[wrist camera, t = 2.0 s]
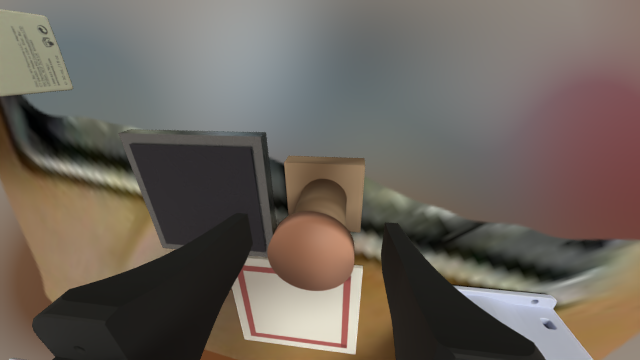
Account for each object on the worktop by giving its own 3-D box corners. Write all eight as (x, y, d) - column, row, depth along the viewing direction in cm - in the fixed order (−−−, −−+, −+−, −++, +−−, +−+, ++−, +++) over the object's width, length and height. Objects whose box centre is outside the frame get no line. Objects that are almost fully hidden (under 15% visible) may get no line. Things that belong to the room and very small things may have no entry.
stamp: (364, 156, 16) (369, 218, 10) (359, 219, 18) (361, 303, 12) (289, 154, 16) (249, 210, 10) (294, 215, 19) (263, 292, 12)
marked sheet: (362, 265, 20) (362, 268, 20) (355, 351, 25) (355, 354, 25) (225, 253, 21) (223, 256, 21) (245, 336, 27) (244, 339, 26)
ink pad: (265, 132, 16) (259, 137, 15) (279, 249, 20) (275, 259, 19) (130, 129, 17) (115, 133, 16) (170, 240, 22) (161, 249, 20)
